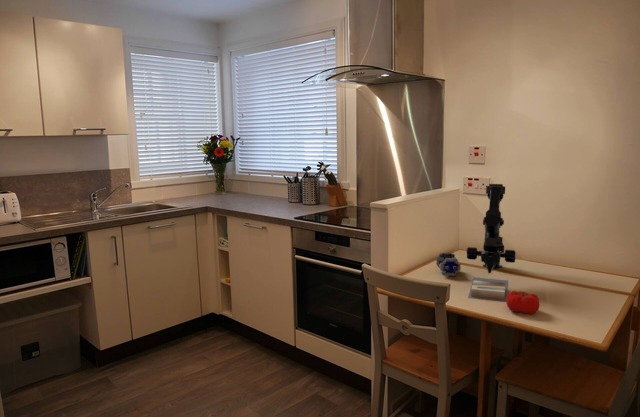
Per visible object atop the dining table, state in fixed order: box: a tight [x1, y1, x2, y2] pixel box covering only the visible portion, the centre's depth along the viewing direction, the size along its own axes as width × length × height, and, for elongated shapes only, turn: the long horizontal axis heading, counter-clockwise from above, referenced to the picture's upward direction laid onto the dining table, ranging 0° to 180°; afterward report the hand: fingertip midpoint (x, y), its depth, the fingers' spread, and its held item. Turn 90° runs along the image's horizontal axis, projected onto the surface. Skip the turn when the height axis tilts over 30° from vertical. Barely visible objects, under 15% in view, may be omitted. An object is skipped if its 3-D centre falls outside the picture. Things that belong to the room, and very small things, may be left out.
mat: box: [467, 277, 509, 303], centre depth 190 cm, size 28×14×1 cm, turn 158°
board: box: [470, 280, 505, 300], centre depth 184 cm, size 3×12×12 cm
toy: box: [435, 252, 462, 277], centre depth 211 cm, size 9×9×15 cm
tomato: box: [505, 290, 540, 315], centre depth 166 cm, size 10×11×6 cm
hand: (489, 272), depth 188 cm, fingers closed
